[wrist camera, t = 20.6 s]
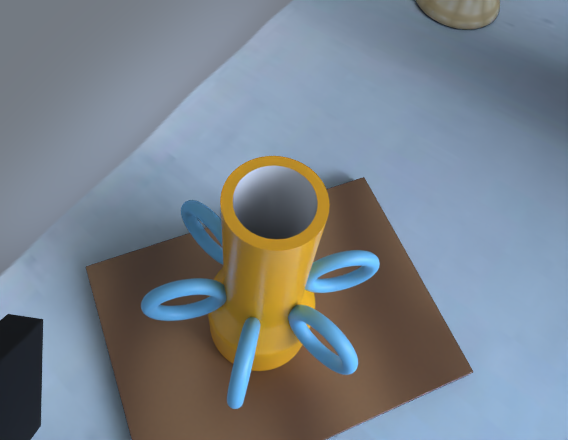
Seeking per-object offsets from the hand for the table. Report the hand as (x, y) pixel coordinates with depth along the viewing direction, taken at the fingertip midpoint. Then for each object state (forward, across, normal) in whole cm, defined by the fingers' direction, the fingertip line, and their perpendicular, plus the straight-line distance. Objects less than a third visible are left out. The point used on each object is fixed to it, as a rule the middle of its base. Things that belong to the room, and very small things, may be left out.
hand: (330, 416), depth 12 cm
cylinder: (+19, -2, -8) cm, 21 cm away
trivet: (+20, -1, -9) cm, 22 cm away
